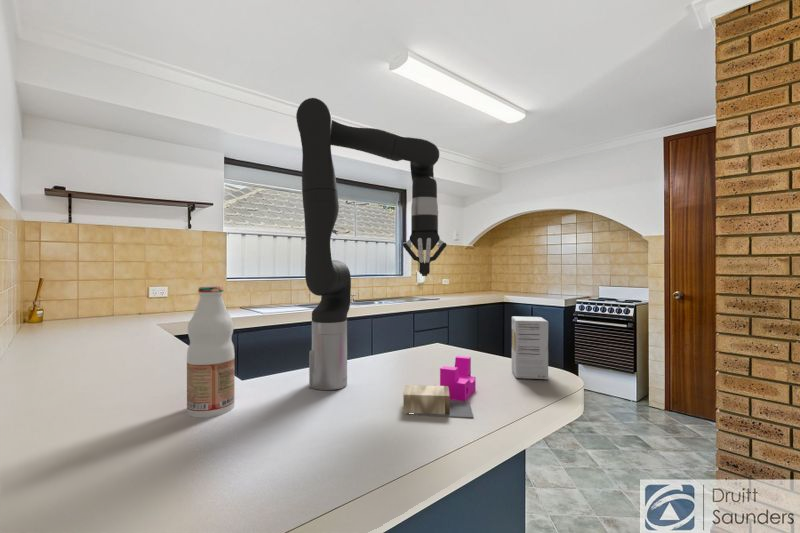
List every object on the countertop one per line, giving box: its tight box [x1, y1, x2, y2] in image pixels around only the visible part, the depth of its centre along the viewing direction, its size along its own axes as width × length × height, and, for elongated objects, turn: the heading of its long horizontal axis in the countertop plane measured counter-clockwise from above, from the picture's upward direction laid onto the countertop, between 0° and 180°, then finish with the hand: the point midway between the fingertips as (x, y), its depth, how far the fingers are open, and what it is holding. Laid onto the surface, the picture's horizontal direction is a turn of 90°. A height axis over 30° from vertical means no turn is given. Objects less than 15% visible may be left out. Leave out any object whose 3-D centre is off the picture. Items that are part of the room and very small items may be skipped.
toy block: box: [439, 355, 477, 402], centre depth 101 cm, size 15×6×8 cm, turn 155°
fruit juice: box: [186, 286, 236, 418], centre depth 85 cm, size 9×9×28 cm
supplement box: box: [511, 315, 549, 380], centre depth 116 cm, size 10×9×17 cm
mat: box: [406, 401, 475, 419], centre depth 88 cm, size 16×9×1 cm, turn 85°
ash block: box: [402, 384, 451, 414], centre depth 88 cm, size 4×7×10 cm
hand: (424, 275), depth 110 cm, fingers closed
